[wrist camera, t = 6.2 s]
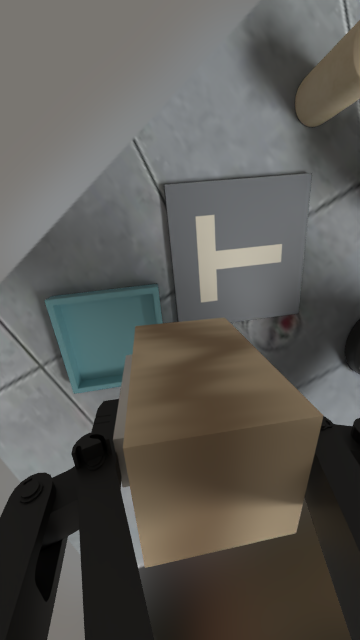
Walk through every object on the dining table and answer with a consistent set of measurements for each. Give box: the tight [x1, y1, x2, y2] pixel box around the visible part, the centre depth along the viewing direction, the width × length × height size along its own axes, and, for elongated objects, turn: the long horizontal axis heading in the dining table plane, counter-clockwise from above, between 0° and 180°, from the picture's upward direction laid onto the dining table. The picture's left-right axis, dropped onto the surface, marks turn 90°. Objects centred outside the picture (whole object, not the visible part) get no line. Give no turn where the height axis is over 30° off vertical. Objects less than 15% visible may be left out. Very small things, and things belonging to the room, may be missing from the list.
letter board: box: [164, 173, 312, 323], centre depth 33 cm, size 20×20×1 cm
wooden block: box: [123, 318, 323, 567], centre depth 12 cm, size 6×6×9 cm
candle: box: [295, 20, 360, 127], centre depth 23 cm, size 6×6×10 cm
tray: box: [45, 284, 163, 394], centre depth 34 cm, size 15×15×2 cm
